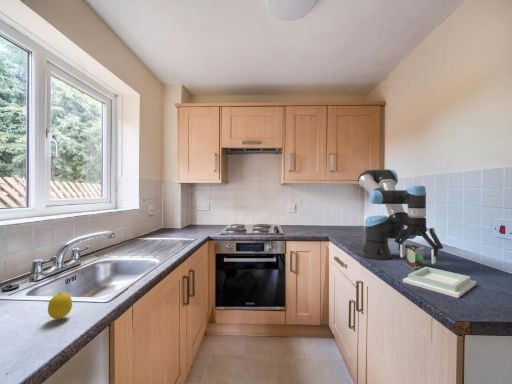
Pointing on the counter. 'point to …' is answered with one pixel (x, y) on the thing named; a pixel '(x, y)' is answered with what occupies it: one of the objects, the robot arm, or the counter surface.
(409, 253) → the food container
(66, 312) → the lemon
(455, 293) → the pocket plate
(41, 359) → the counter surface
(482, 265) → the counter surface
